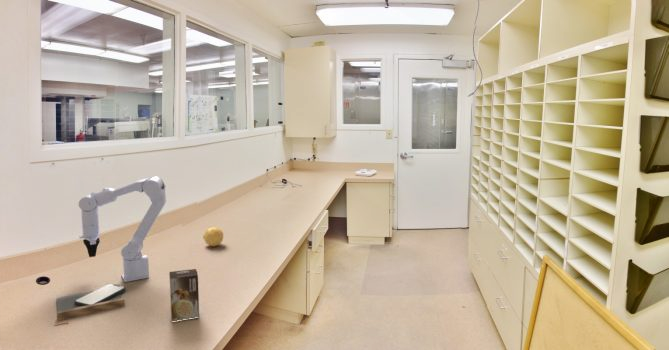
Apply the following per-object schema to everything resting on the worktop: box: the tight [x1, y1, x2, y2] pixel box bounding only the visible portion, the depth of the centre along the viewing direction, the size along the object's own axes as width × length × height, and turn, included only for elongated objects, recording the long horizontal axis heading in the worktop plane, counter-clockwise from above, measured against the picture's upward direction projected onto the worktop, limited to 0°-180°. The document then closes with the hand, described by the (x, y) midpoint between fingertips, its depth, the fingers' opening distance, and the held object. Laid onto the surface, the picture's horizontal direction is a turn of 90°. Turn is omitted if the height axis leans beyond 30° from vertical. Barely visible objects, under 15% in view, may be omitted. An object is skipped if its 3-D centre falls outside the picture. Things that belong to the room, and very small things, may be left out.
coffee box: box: [168, 268, 200, 322], centre depth 138 cm, size 9×6×16 cm
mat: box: [56, 290, 123, 312], centre depth 148 cm, size 20×18×1 cm
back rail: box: [57, 297, 126, 322], centre depth 140 cm, size 20×2×2 cm, turn 126°
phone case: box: [74, 283, 126, 306], centre depth 150 cm, size 9×2×16 cm
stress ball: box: [203, 226, 224, 248], centre depth 210 cm, size 10×10×10 cm
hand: (92, 256), depth 164 cm, fingers closed
